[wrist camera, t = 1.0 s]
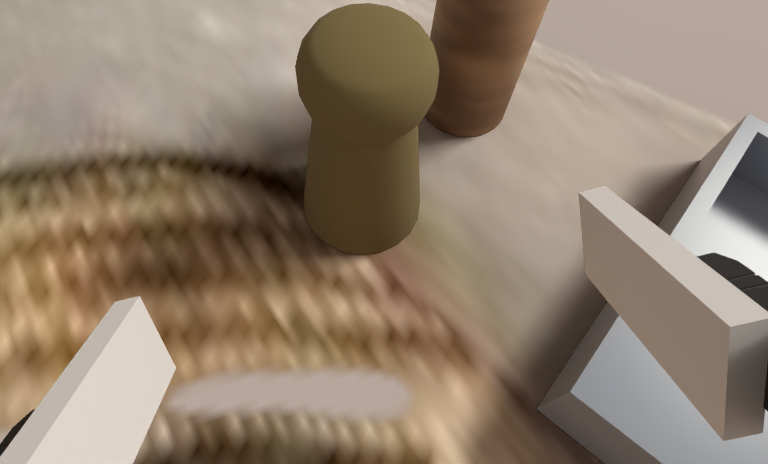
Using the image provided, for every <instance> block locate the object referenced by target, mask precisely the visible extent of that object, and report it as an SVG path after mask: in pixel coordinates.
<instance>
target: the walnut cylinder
mask: <svg viewBox="0 0 768 464" xmlns="http://www.w3.org/2000/svg"><path fill="white" fill-rule="evenodd" d="M548 2H549V0H437V2H436V7H435V13H434V19H433V25H432V30H431V36H430V40H431V41H432V43H433V45H434V48H435V51H436V55H437V58H438V64H439V78H438V86H437V91H436V95H435V99H434V101H433V103H432V104H431V106H430V108H429V110H428V111H427V113H426V115H425V117H426V118H427V119H428V121H429V122H430V123H431V124H433V125H434V126H435V127H436V128H438V129H440V130H441V131H443V132H446V133H448V134H451V135H455V136H461V137H474V136H479V135H483V134H486V133H488V132H490V131H491V130H493V129H494V128H495V127H496V126H497V125H498V124H499V123H500V122H501V120H502V118H503V115H504V113H505V110H506V108H507V105H508V103H509V100H510V98H511V95H512V93H513V90H514V88H515V85H516V83H517V80H518V78H519V75H520V73H521V70H522V68H523V65H524V63H525V60H526V57H527V55H528V52H529V50H530V47H531V45H532V42H533V40H534V37H535V35H536V32H537V30H538V27H539V25H540V22H541V19H542V17H543V15H544V12H545V9H546V7H547V4H548Z"/></svg>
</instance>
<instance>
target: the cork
mask: <svg viewBox="0 0 768 464" xmlns="http://www.w3.org/2000/svg"><path fill="white" fill-rule="evenodd" d="M295 68H296V76H297V84H298V91H299V96H300V98H301V100H302V102H303V104H304V106H305V107H306V109H307V111H308V113H309V114H310V116H311V118H312V126H311V136H310V145H309V154H308V163H307V172H306V181H305V191H304V200H303V202H304V210H305V217H306V219H307V221H308V223H309V225H310V227H311V229H312V231H313V232H314V233H315V234H316V235H317V236H318V237H319V238H320V239H321V240H322V241H323V242H324V243H326V244H327V245H329V246H331V247H333V248H336V249H338V250H340V251H342V252H346V253H353V254H359V255H365V254H372V253H380V252H382V251H385V250H387V249H389V248H391V247H393V246H396V245H398V244H399V243H400V242H401V241H402V240H403V239H404V238H405V237H406V236H407V235H408V234H410V232H411V230H412V228H413V226H414V225H415V223H416V221H417V219H418V212H419V205H420V191H419V136H418V124H420V123H421V121H422V119H423V118H424V116H425V115H426V113H427V111H428V110H429V108H430V106H431V104H432V103H433V101H434V99H435V95H436V91H437V86H438V78H439V64H438V58H437V55H436V51H435V48H434V45H433V43H432V41H431V40H430V38H429V36H428V35H427V34H426V32H425V31H424V30H423V28H422V27H421V26H420V24H419V23H418V22H417V21H415V20H414V19H412V18H411V17H410V16H408V15H407V14H405V13H404V12H401V11H399V10H396V9H394V8H391V7H388V6H383V5H377V4H370V3H366V4H352V5H347V6H344V7H341V8H338V9H334V10H332V11H330V12H329V13H327V14H326V15H324V16H323V17H321V18H320V19H318V21H317V22H316V23H315V24H314V25H313V27H312V28H311V29H310V30H309V32H308V33H307V34H306V36H305V37H304V38H303V39H302V43H301V46H300V49H299V53H298V56H297V61H296V66H295Z"/></svg>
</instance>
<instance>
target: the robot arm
mask: <svg viewBox="0 0 768 464" xmlns="http://www.w3.org/2000/svg"><path fill="white" fill-rule="evenodd" d="M579 202H580V215H581V227H582V240H583V252H584V265H585V274H586V276H587V277H588V278H589V279H590V281H591V282H592V283H593V284H594V285H595V287H596V288H597V289H598V290H599V291H600V293H601V294H602V295H603V296H604V297H605V299H606V300H607V301H608V302H609V304H610V305H611V306H612V307H613V308H614V310H615V311H616V312H617V313H618V314H619V316H620V317H621V318H622V319H623V320H624V322H625V323H626V324H627V325H628V327H629V328H630V329H631V330H632V331H633V333H634V334H635V335H636V336H637V337H638V339H639V340H640V341H641V342H642V343H643V345H644V346H645V347H646V348H647V349H648V351H649V352H650V353H651V354H652V356H653V357H654V358H655V359H656V360H657V362H658V363H659V364H660V365H661V366H662V368H663V369H664V370H665V371H666V372H667V374H668V375H669V376H670V377H671V379H672V380H673V381H674V382H675V383H676V385H677V386H678V387H679V388H680V389H681V391H682V392H683V393H684V394H685V395H686V397H687V398H688V399H689V400H690V402H691V403H692V404H693V405H694V406H695V408H696V409H697V410H698V411H699V412H700V414H701V415H702V416H703V417H704V418H705V420H706V421H707V422H708V423H709V425H710V426H711V427H712V428H713V429H714V431H715V432H716V433H717V434H718V435H719V437H720V438H721V439H722V440H723V441H727V440H732V439H737V438H741V437H746V436H750V435H755V434H760V433H763V427H764V417H765V409H766V410H767V411H768V282H767V281H766V280H765V279H763V278H762V277H760V276H759V275H755V272H753V271H752V270H750V269H749V268H748V267H746V266H745V265H743V264H742V263H740V262H739V261H737V260H734V259H732V258H729V257H726V256H723V255H720V254H717V253H715V252H714V253H709V254H705V255H700V256H695V255H694V254H693V253H691V252H690V251H689V250H687V249H686V248H685V247H683V246H682V245H681V244H680V243H678V242H677V241H676V240H674V239H673V238H672V237H671V236H669V235H668V234H667V233H665V232H664V231H663V230H662V229H660V228H659V227H658V226H656V225H655V224H654V223H652V222H651V221H650V220H649V219H647V218H646V217H645V216H643V215H642V214H641V213H640V212H638V211H637V210H636V209H634V208H633V207H632V206H630V205H629V204H628V203H627V202H625V201H624V200H623V199H621V198H620V197H619V196H618V195H616V194H615V193H614V192H612V191H611V190H610V189H608V188H607V187H606V186H603V187H599V188H595V189H591V190H586V191H582V192H579ZM175 369H176V367H175V365H174V363H173V361H172V359H171V357H170V355H169V353H168V351H167V349H166V347H165V345H164V343H163V341H162V339H161V337H160V335H159V333H158V331H157V329H156V327H155V325H154V323H153V321H152V319H151V317H150V315H149V313H148V311H147V309H146V307H145V305H144V303H143V301H142V300H141V298H140V296H137V297H133V298H129V299H125V300H120V301H116V302H114V304H113V305H112V307H111V308H110V309H109V311H108V312H107V313H106V315H105V316H104V317H103V319H102V320H101V321H100V323H99V324H98V325H97V327H96V328H95V329H94V331H93V332H92V334H91V335H90V336H89V338H88V339H87V340H86V342H85V343H84V344H83V346H82V347H81V348H80V350H79V351H78V352H77V354H76V355H75V356H74V358H73V359H72V360H71V362H70V363H69V365H68V366H67V367H66V369H65V370H64V371H63V373H62V374H61V375H60V377H59V378H58V379H57V381H56V382H55V383H54V385H53V386H52V387H51V389H50V390H49V392H48V393H47V394H46V396H45V397H44V398H43V400H42V401H41V402H40V404H39V405H38V406H37V408H36V409H35V410H32V411H31V412H30V413H29V414H28V415H26V416H25V417H24V418H23V419H22V420H21V421H20V422H19V423H17V424H16V425H15V426H14V427H13V428H12V429H11V431H10V432H9V433H8V435H7V436H6V437H5V438H4V440H3V441H2V442H1V444H0V464H133V462H134V460H135V458H136V456H137V453H138V451H139V449H140V447H141V445H142V442H143V440H144V438H145V436H146V434H147V431H148V429H149V427H150V425H151V422H152V420H153V418H154V416H155V414H156V411H157V409H158V407H159V405H160V403H161V400H162V398H163V396H164V394H165V391H166V389H167V387H168V385H169V383H170V380H171V378H172V376H173V374H174V372H175Z"/></svg>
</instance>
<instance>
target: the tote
mask: <svg viewBox="0 0 768 464" xmlns="http://www.w3.org/2000/svg"><path fill="white" fill-rule="evenodd" d="M658 227H659V228H660V229H662V230H663V231H664V232H665V233H667V234H668V235H669V236H671V237H672V238H673V239H674V240H676V241H677V242H678V243H680V244H681V245H682V246H683V247H685V248H686V249H687V250H689V251H690V252H691V253H693V254H694V255H695V256H700V255H705V254H709V253H714V252H715V253H717V254H720V255H723V256H726V257H729V258H732V259H734V260H737V261H739V262H740V263H742V264H743V265H745V266H746V267H748V268H749V269H750V270H752V271H753V272H755V275H759V276H760V277H762V278H763V279H765V280H766V281H767V282H768V124H766V123H764V122H762V121H761V120H759V119H757V118H755V117H754V116H752V115H750V114H747V115H746V117H745V118H743V119H742V120H741V121H740V122H739V123H738V124H737V125H736V126H735V127H734V128H733V129H732V130H731V131H730V132H729V133H728V134H727V135H726V136H725V137H724V138H723V139H722V140H721V141H720V142H719V143H718V144H717V145H716V146H715V147H714V148H713V149H712V150H711V151H710V152H709V153H708V154H707V155H706V156H705V157H703V158H702V159H701V161H700V162H699V164H698V165H697V167H696V169H695V170H694V172H693V173H692V175H691V176H690V178H689V179H688V181H687V182H686V184H685V185H684V187H683V188H682V190H681V191H680V193H679V194H678V196H677V197H676V199H675V200H674V202H673V203H672V205H671V206H670V208H669V209H668V211H667V212H666V214H665V215H664V217H663V218H662V220H661V221H660V223H659V224H658ZM537 410H538V411H539V412H541V413H542V414H543V415H544V416H546V417H547V418H548V419H549V420H551V421H552V422H553V423H554V424H556V425H557V426H558V427H559V428H561V429H562V430H563V431H564V432H566V433H567V434H568V435H569V436H571V437H572V438H573V439H574V440H576V441H577V442H578V443H579V444H581V445H582V446H583V447H584V448H586V449H587V450H588V451H589V452H591V453H592V454H593V455H594V456H596V457H597V458H598V459H599V460H601V461H602V462H603V463H604V464H768V411H767V410H766V409H765V417H764V427H763V433H760V434H755V435H750V436H746V437H741V438H737V439H732V440H727V441H723V440H722V439H721V438H720V437H719V435H718V434H717V433H716V432H715V431H714V429H713V428H712V427H711V426H710V425H709V423H708V422H707V421H706V420H705V418H704V417H703V416H702V415H701V414H700V412H699V411H698V410H697V409H696V408H695V406H694V405H693V404H692V403H691V402H690V400H689V399H688V398H687V397H686V395H685V394H684V393H683V392H682V391H681V389H680V388H679V387H678V386H677V385H676V383H675V382H674V381H673V380H672V379H671V377H670V376H669V375H668V374H667V372H666V371H665V370H664V369H663V368H662V366H661V365H660V364H659V363H658V362H657V360H656V359H655V358H654V357H653V356H652V354H651V353H650V352H649V351H648V349H647V348H646V347H645V346H644V345H643V343H642V342H641V341H640V340H639V339H638V337H637V336H636V335H635V334H634V333H633V331H632V330H631V329H630V328H629V327H628V325H627V324H626V323H625V322H624V320H623V319H622V318H621V317H620V316H619V314H618V313H617V312H616V311H615V310H614V308H613V307H612V306H611V305H610V304H609V302H607V303H606V305H605V306H604V308H603V309H602V311H601V312H600V314H599V315H598V317H597V318H596V320H595V321H594V323H593V324H592V326H591V327H590V329H589V330H588V332H587V333H586V335H585V336H584V338H583V339H582V341H581V342H580V344H579V345H578V347H577V348H576V350H575V351H574V353H573V354H572V356H571V357H570V359H569V360H568V362H567V364H566V365H565V367H564V368H563V370H562V371H561V373H560V374H559V376H558V377H557V379H556V380H555V382H554V383H553V385H552V386H551V388H550V389H549V391H548V392H547V394H546V395H545V397H544V398H543V400H542V401H541V403H540V404H539V406H538V407H537Z"/></svg>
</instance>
